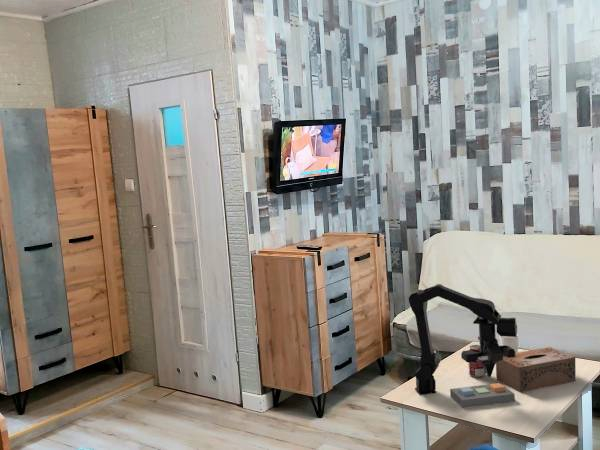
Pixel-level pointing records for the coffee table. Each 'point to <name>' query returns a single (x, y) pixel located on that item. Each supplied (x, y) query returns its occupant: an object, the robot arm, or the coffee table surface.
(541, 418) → the coffee table surface
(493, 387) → the orange button
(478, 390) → the green button
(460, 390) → the blue button
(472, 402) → the button panel
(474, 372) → the soda can
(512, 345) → the white cup
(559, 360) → the tissue box cover
